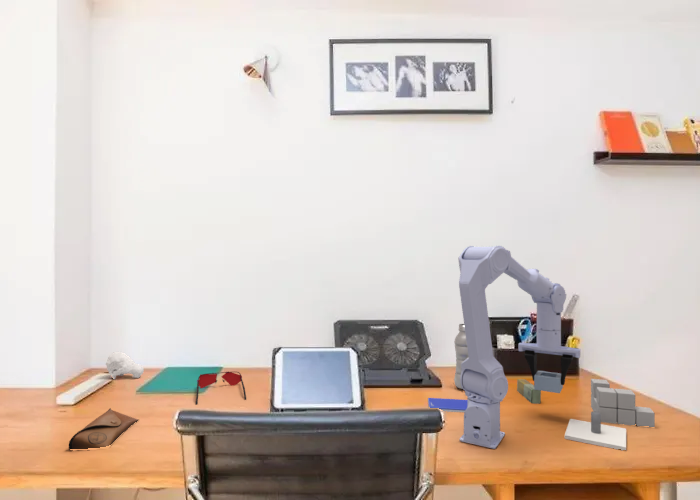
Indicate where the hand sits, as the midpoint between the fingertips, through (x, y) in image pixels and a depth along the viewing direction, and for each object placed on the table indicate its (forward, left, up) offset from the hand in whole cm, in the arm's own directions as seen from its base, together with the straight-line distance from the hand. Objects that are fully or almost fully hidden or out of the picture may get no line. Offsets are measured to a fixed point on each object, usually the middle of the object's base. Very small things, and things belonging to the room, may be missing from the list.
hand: (548, 382), depth 115 cm
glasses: (-31, +87, -10) cm, 93 cm away
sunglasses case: (-66, +86, -10) cm, 109 cm away
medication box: (+15, +8, -10) cm, 20 cm away
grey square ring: (0, 0, -2) cm, 2 cm away
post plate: (-6, -11, -9) cm, 16 cm away
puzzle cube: (+11, -16, -10) cm, 22 cm away
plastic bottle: (+13, +26, -10) cm, 31 cm away
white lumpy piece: (-36, +127, -10) cm, 132 cm away
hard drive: (-5, +24, -10) cm, 27 cm away
